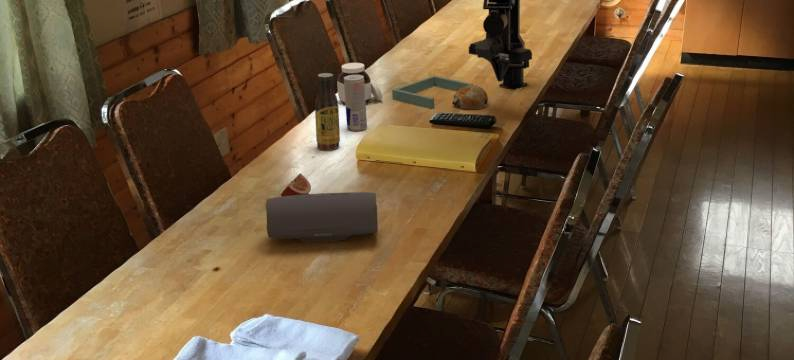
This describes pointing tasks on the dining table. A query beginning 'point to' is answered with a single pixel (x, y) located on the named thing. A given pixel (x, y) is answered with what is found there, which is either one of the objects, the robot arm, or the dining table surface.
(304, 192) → the fruit slice
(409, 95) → the teal u-shaped frame
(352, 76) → the beverage can
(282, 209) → the bluetooth speaker
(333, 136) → the sauce bottle
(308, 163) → the dining table surface
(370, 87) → the spread jar
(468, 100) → the bread roll
